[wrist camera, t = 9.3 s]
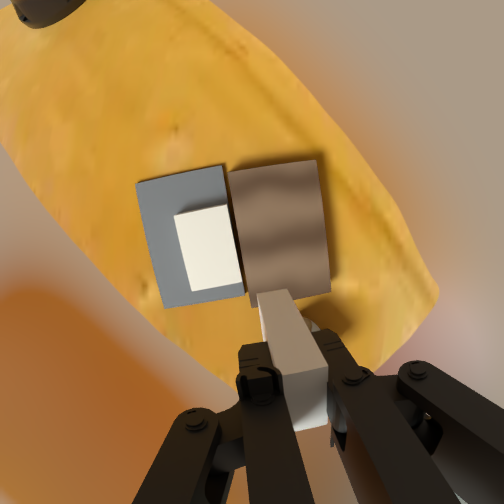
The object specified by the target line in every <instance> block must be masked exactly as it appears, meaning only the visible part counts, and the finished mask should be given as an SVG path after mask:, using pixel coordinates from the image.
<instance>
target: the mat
mask: <svg viewBox="0 0 504 504" xmlns="http://www.w3.org/2000/svg"><path fill="white" fill-rule="evenodd" d="M135 186H136V192H137V197H138V202H139V207H140V212H141V217H142V222H143V226H144V231H145V235H146V240H147V244H148V248H149V253H150V257H151V261H152V265H153V269H154V272H155V276H156V280H157V284H158V287H159V291H160V295H161V298H162V302H163V305H164V309H166V308H173V307H179V306H186V305H192V304H198V303H204V302H210V301H216V300H222V299H228V298H233V297H239V296H245V292H244V287H243V281H242V282H239V283H234V284H229V285H224V286H219V287H213V288H208V289H203V290H197V291H192V290H191V287H190V283H189V279H188V275H187V271H186V267H185V263H184V259H183V255H182V251H181V246H180V242H179V238H178V233H177V229H176V225H175V220H174V215H176V214H178V213H183V212H187V211H192V210H197V209H202V208H206V207H211V206H216V205H221V204H226V203H227V207H228V212H229V217H230V222H231V227H232V221H231V216H230V210H229V204H228V199H227V193H226V187H225V182H224V176H223V170H222V165H221V166H215V167H210V168H205V169H199V170H194V171H190V172H185V173H180V174H175V175H171V176H166V177H162V178H158V179H153V180H149V181H145V182H141V183H137V184H135ZM232 232H233V227H232ZM233 237H234V232H233ZM234 242H235V238H234ZM235 247H236V243H235ZM236 252H237V249H236ZM237 257H238V254H237ZM238 262H239V260H238ZM239 267H240V265H239ZM240 272H241V271H240ZM241 277H242V276H241Z"/></svg>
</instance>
